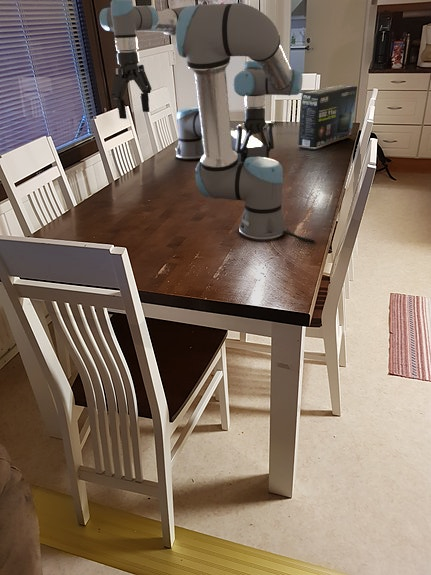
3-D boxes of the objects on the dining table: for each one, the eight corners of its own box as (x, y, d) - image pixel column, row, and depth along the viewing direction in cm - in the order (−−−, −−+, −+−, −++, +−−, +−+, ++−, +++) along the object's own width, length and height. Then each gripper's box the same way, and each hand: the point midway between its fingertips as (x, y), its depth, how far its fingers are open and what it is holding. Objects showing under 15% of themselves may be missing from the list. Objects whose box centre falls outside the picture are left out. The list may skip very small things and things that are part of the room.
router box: (314, 151, 231) (318, 94, 217) (296, 148, 237) (299, 92, 224) (352, 138, 251) (358, 85, 238) (335, 135, 258) (340, 83, 245)
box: (266, 171, 178) (266, 145, 173) (247, 173, 176) (247, 147, 171) (243, 152, 201) (243, 129, 196) (227, 154, 200) (226, 131, 194)
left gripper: (140, 48, 171) (147, 108, 182) (94, 54, 153) (104, 120, 164) (157, 48, 168) (162, 109, 179) (111, 54, 150) (121, 122, 161)
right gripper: (277, 102, 172) (275, 163, 184) (225, 107, 168) (226, 169, 180) (284, 106, 166) (282, 168, 178) (230, 111, 162) (232, 174, 174)
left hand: (135, 115), depth 171 cm, fingers open, 13 cm apart
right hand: (254, 168), depth 179 cm, fingers closed on box, 7 cm apart
